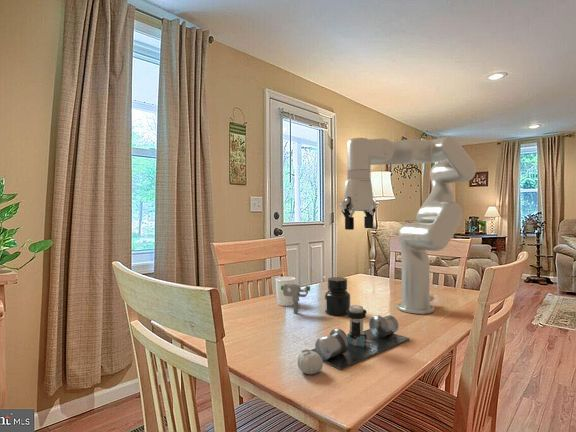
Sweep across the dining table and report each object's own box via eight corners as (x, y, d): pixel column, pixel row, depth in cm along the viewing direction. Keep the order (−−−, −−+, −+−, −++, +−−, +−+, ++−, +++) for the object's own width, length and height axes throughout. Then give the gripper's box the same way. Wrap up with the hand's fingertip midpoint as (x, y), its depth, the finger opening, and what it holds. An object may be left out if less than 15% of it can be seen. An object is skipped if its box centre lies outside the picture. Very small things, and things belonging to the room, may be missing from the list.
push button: (374, 343, 93) (374, 306, 92) (367, 350, 88) (367, 311, 88) (351, 338, 96) (350, 303, 96) (343, 345, 92) (343, 308, 92)
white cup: (272, 305, 133) (272, 279, 133) (280, 300, 140) (280, 275, 140) (291, 307, 130) (291, 281, 130) (298, 302, 137) (298, 277, 137)
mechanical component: (309, 315, 120) (309, 286, 120) (280, 313, 122) (280, 285, 122) (310, 312, 123) (310, 284, 123) (282, 311, 125) (282, 283, 125)
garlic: (293, 375, 77) (292, 352, 77) (301, 365, 82) (300, 343, 82) (319, 380, 74) (318, 356, 74) (325, 369, 80) (325, 346, 79)
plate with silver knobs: (374, 328, 106) (374, 307, 105) (409, 340, 96) (409, 317, 96) (306, 353, 88) (305, 328, 88) (340, 370, 79) (340, 342, 79)
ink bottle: (336, 307, 129) (335, 275, 129) (355, 312, 123) (355, 278, 123) (319, 312, 123) (319, 279, 122) (339, 318, 116) (339, 282, 116)
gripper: (366, 178, 121) (366, 227, 121) (332, 176, 110) (332, 229, 111) (384, 177, 115) (384, 228, 116) (350, 174, 104) (350, 230, 105)
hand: (359, 228), depth 113 cm, fingers open, 9 cm apart
